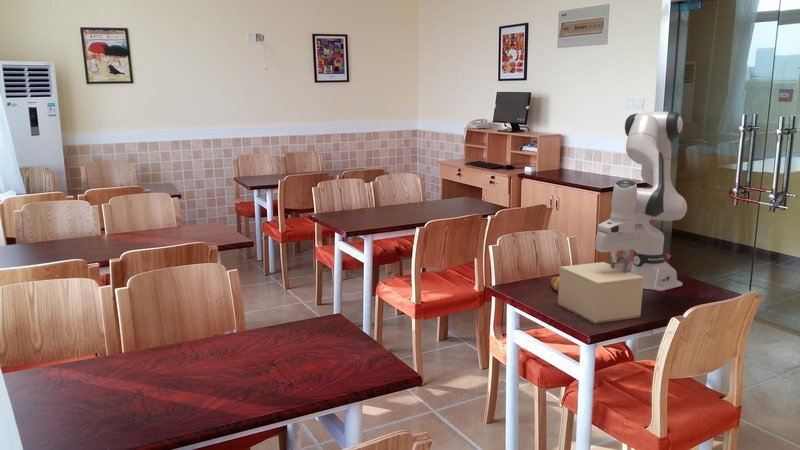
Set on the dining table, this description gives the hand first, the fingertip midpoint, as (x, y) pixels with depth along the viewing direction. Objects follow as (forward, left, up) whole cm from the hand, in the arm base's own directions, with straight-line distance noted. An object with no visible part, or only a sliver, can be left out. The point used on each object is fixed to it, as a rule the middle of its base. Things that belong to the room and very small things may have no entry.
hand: (619, 261), depth 242 cm
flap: (+8, 0, -4) cm, 9 cm away
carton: (+8, 0, -18) cm, 20 cm away
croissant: (+6, -24, -18) cm, 31 cm away
